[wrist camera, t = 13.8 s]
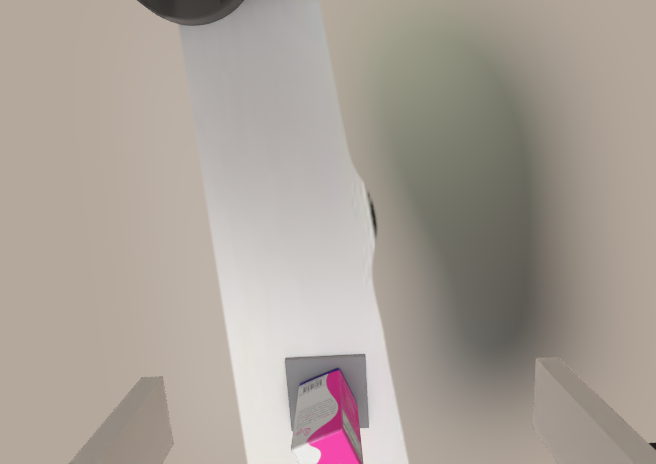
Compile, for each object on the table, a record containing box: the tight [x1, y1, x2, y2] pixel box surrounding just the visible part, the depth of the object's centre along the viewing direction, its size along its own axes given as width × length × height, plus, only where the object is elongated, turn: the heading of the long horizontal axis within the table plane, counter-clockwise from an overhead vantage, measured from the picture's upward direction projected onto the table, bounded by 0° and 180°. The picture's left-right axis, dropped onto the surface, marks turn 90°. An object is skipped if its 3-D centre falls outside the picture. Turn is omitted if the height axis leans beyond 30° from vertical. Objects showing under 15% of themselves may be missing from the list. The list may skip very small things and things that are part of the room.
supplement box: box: [291, 368, 363, 464], centre depth 47 cm, size 6×6×12 cm
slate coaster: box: [285, 354, 369, 431], centre depth 53 cm, size 10×10×1 cm
